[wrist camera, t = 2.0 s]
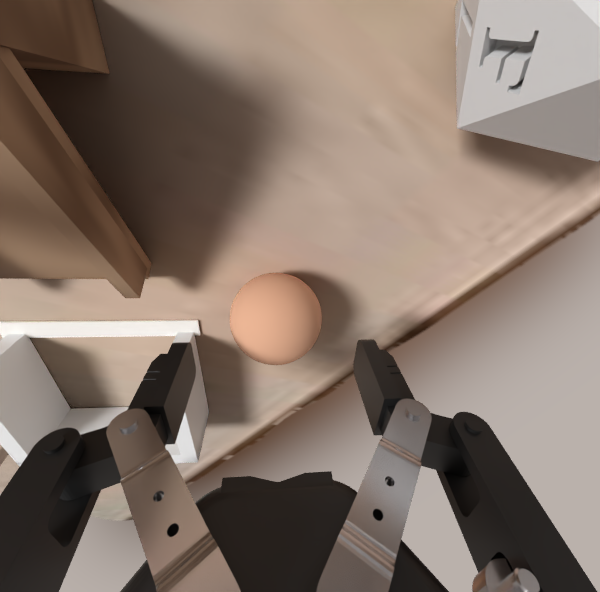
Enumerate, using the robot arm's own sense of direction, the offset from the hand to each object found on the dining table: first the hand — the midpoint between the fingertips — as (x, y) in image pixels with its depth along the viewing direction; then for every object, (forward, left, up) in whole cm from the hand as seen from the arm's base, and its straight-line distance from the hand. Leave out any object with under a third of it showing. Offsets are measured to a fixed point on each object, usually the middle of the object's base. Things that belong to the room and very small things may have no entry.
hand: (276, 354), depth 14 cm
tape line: (+2, -11, -5) cm, 12 cm away
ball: (0, 0, -2) cm, 2 cm away
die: (-13, +10, -5) cm, 18 cm away
